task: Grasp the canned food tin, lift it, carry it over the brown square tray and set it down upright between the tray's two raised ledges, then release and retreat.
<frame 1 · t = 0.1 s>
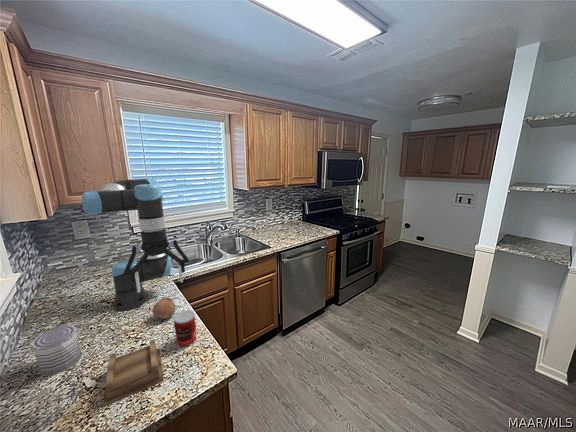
hand: (161, 285, 84), 28 cm above the worktop, fingers open, 13 cm apart
canned food: (187, 339, 96), on the worktop
brown square tray: (135, 374, 80), on the worktop
onion: (165, 317, 111), on the worktop
can: (61, 363, 85), on the worktop
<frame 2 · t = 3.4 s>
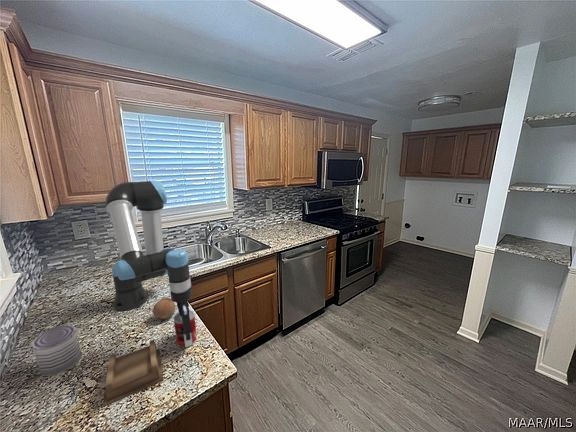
hand: (186, 338, 96), 0 cm above the worktop, fingers closed on canned food, 8 cm apart
canned food: (187, 339, 96), on the worktop, touching gripper
everything else where it was.
when the fingers open (6 cm above the worktop, at t = 8.6 s): canned food drops 1 cm, resting on brown square tray.
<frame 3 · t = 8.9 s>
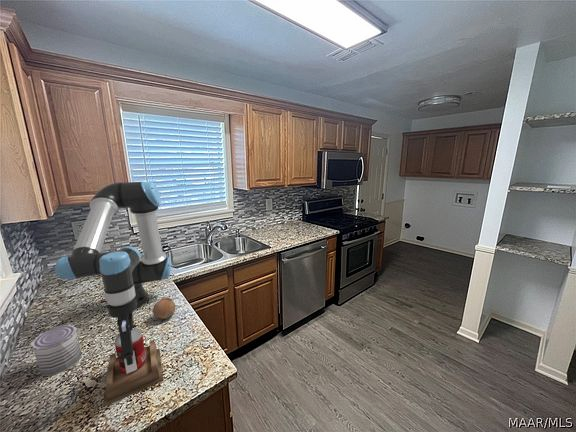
hand: (132, 358, 79), 7 cm above the worktop, fingers open, 11 cm apart
canned food: (133, 364, 79), point 4 cm above the worktop, touching brown square tray
everything else where it was.
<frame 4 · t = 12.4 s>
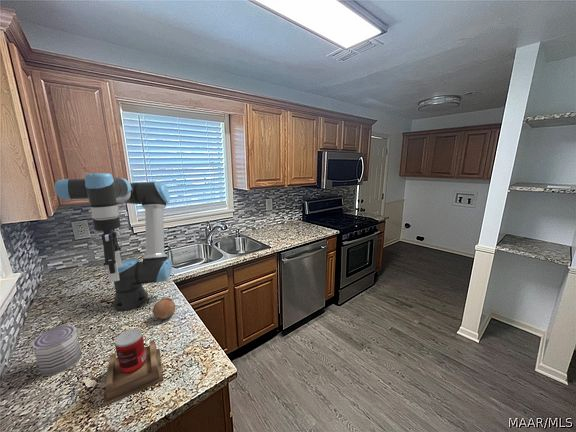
hand: (116, 273, 86), 32 cm above the worktop, fingers open, 13 cm apart
nothing on the worktop moved.
at the end: canned food inside the target area on the brown square tray (0.1 cm from its centre), point 3.8 cm above the brown square tray's base; canned food tilted 0°; the gripper is holding nothing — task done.
